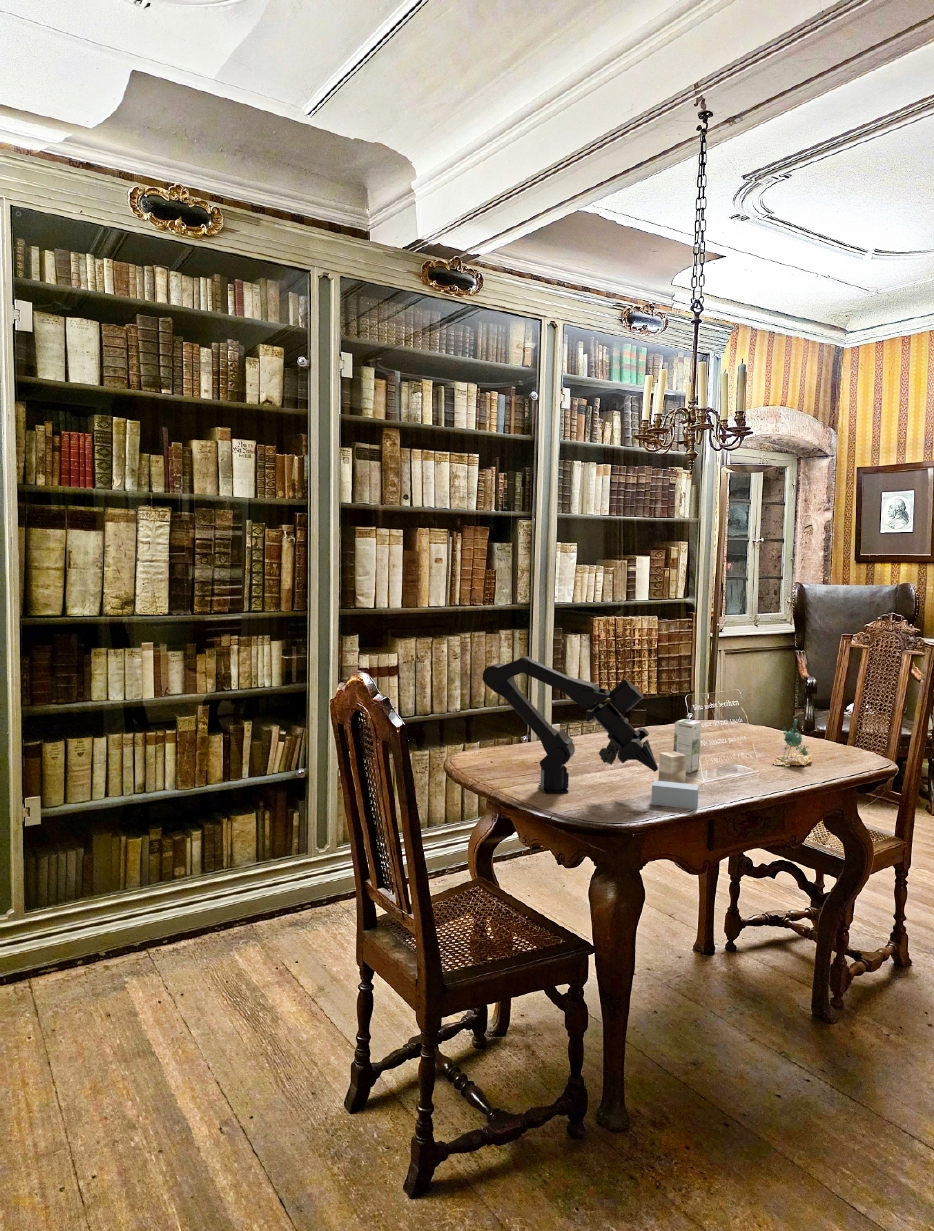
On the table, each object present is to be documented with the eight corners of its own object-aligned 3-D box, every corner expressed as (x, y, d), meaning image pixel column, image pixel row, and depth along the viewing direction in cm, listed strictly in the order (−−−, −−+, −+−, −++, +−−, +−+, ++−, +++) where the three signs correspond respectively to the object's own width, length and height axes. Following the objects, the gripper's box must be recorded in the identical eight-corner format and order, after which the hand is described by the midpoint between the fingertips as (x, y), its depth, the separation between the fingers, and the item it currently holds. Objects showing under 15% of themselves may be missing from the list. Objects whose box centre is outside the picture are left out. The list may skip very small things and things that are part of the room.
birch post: (670, 790, 216) (671, 757, 215) (658, 785, 220) (659, 752, 219) (685, 788, 218) (686, 755, 217) (672, 783, 222) (673, 751, 222)
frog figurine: (828, 764, 248) (828, 717, 246) (786, 776, 240) (785, 728, 238) (803, 756, 257) (802, 711, 255) (761, 768, 249) (760, 721, 247)
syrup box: (680, 766, 241) (682, 718, 240) (699, 770, 237) (701, 721, 236) (672, 770, 237) (674, 721, 236) (691, 773, 233) (693, 723, 232)
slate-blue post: (652, 785, 203) (697, 790, 199) (654, 780, 207) (698, 785, 204) (651, 804, 203) (696, 810, 199) (653, 799, 208) (697, 804, 204)
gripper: (597, 736, 218) (637, 780, 216) (584, 751, 201) (628, 800, 198) (627, 709, 215) (669, 754, 212) (617, 722, 198) (662, 771, 195)
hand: (656, 770), depth 205 cm, fingers closed
